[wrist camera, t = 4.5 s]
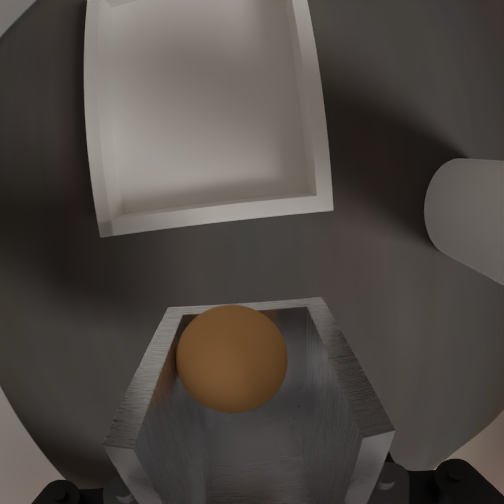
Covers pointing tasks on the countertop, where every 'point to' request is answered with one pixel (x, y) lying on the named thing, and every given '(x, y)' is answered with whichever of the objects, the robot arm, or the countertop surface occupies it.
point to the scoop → (254, 423)
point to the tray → (203, 112)
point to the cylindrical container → (468, 214)
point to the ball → (232, 359)
